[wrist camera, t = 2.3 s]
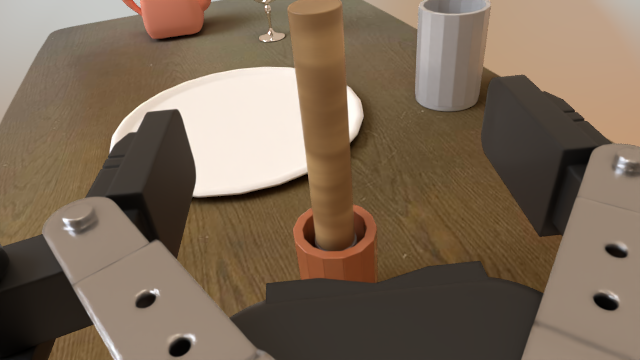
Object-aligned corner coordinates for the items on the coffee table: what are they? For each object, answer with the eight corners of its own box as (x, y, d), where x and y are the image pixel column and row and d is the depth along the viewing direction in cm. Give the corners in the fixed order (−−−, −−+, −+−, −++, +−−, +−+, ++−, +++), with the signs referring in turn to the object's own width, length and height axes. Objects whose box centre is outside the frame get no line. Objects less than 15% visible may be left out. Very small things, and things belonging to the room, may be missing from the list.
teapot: (137, 27, 90) (119, -31, 84) (230, 14, 92) (218, -44, 85) (128, 47, 81) (107, -16, 74) (231, 32, 82) (219, -30, 76)
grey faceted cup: (478, 84, 58) (490, -7, 51) (477, 113, 52) (491, 15, 46) (418, 82, 60) (422, -6, 53) (411, 109, 54) (415, 14, 48)
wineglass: (249, 42, 78) (235, -35, 70) (264, 30, 82) (252, -44, 75) (280, 44, 76) (269, -35, 68) (294, 32, 80) (285, -44, 73)
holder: (383, 284, 34) (382, 206, 29) (369, 345, 30) (366, 264, 25) (317, 274, 35) (307, 197, 31) (296, 330, 31) (281, 252, 27)
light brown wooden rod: (366, 289, 33) (355, -6, 21) (357, 324, 31) (339, 16, 19) (326, 282, 34) (293, -5, 22) (314, 316, 31) (270, 15, 19)
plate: (418, 122, 52) (418, 112, 51) (177, 250, 38) (173, 239, 38) (274, 57, 71) (273, 49, 70) (80, 127, 58) (76, 118, 57)
